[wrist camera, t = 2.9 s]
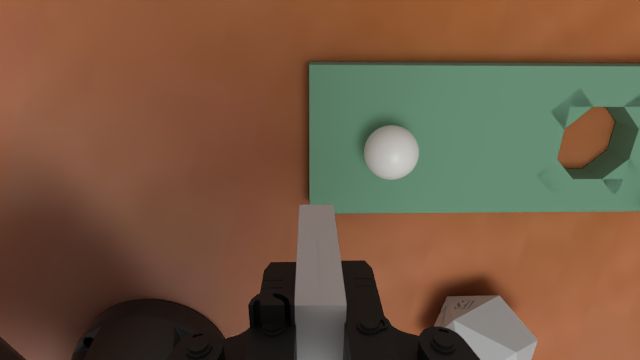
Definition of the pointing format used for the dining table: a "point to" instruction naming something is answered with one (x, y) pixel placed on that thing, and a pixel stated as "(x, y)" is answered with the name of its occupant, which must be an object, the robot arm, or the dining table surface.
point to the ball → (391, 152)
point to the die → (488, 327)
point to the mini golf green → (472, 136)
